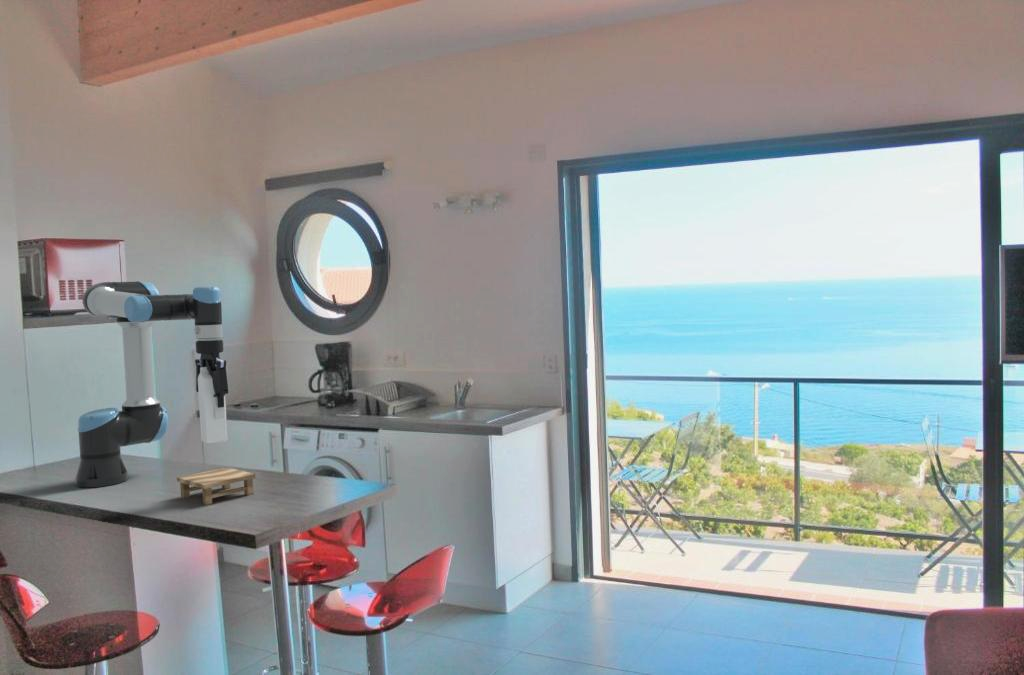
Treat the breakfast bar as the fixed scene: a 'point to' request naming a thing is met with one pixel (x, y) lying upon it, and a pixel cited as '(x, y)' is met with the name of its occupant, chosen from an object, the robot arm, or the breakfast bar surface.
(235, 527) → the breakfast bar surface
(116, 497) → the breakfast bar surface
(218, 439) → the milk
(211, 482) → the light brown square platform
